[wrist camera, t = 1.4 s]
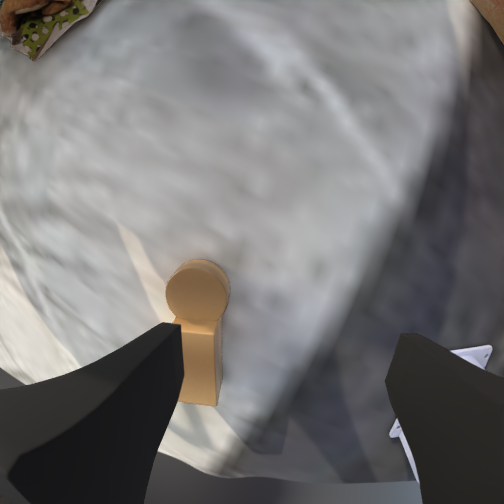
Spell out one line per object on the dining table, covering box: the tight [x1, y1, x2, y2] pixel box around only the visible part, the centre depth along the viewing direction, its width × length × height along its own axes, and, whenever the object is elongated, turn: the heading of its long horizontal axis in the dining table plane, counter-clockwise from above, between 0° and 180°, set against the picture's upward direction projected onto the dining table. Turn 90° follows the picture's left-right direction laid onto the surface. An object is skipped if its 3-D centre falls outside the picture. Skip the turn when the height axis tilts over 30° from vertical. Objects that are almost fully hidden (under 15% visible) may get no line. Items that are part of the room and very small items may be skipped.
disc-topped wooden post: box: [166, 259, 230, 406], centre depth 17 cm, size 9×4×3 cm, turn 178°
